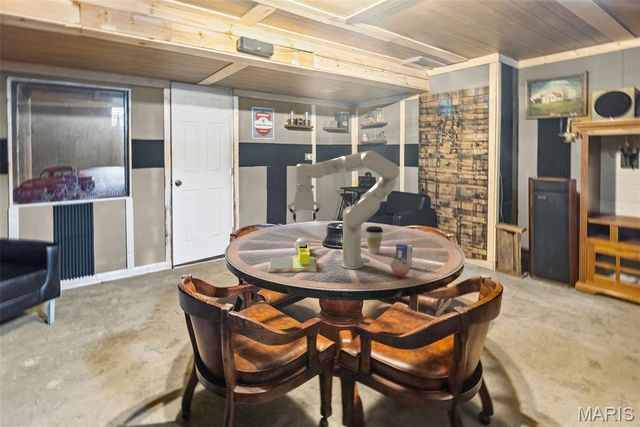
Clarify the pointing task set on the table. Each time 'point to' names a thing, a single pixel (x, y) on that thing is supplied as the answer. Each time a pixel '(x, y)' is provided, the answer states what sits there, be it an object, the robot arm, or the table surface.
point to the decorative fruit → (400, 267)
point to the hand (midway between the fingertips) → (304, 221)
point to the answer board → (290, 265)
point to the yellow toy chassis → (304, 255)
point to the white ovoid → (301, 243)
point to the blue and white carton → (404, 252)
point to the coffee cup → (374, 239)
